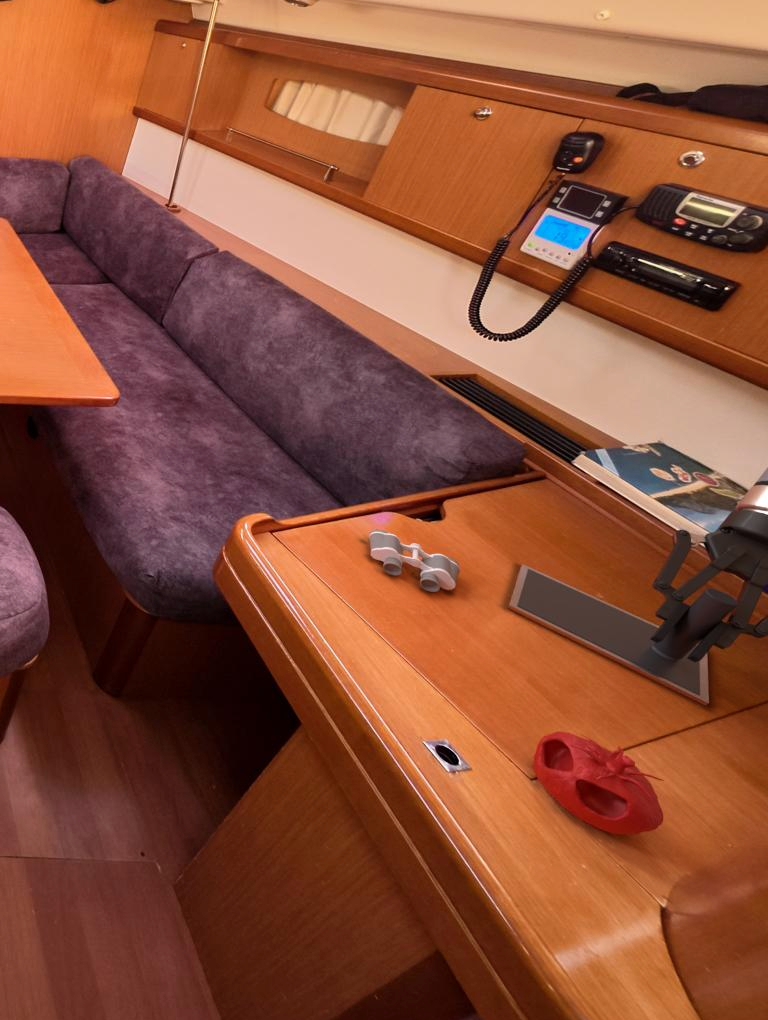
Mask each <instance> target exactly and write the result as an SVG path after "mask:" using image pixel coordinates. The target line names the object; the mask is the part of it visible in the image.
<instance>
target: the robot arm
mask: <svg viewBox="0 0 768 1020" xmlns="http://www.w3.org/2000/svg"><path fill="white" fill-rule="evenodd" d="M701 544H703V546H704V548H705V551H706V553H707V555H708V558H709V560H710V563H708V564H707V565H705V566H704V567H703V568H702V569H701V570H700V571H698V572H697V573H696V574H695V575H693V576H692V577H691V578H690V579H688V580H687V581H686V582H684V583H682V584H681V585H680V586H679V587H678V588H677V589H676V588H675V587H674V586H672V583H673V582H674V579H675V578H676V576H677V574H678V573H679V571H680V569H681V567H682V565H683V564H684V562H685V560H686V558H687V556H689V553H690V552H691V550H692V549H697V547H698V546H699V545H701ZM664 561H665V562H664V563H663V565H662V567H661V568H660V570H659V572H658V574H657V575H656V577H655V579H654V580H653V583H652V585H651V587H652V588H653V590H654V591H657V592H659V593H660V594H662V595H663V596H664V598H665V600H664V601H663V602H662V604H661V605H660V606H659V607H658V608H657V610H656V611H655V612H654V615H655V617H656V618H658V619H660V620H663V622H662V623H661V624H660V625H659V626H660V627H659V628H658V629H657V631H656V632H655V633H654V634H653V636H652V637H651V638H650V639H651V640H653V641H654V642H656V643H658V642H660V641H662V640H663V639H664V638H665V637H666V636H667V634H668V633H669V632H670V631H671V630H672V628H673V627H674V626H675V625H676V623H677V622H678V621H679V620H680V619H681V617H682V616H683V615H684V614H685V612H686V611H687V610H688V609H689V608H690V606H691V605H690V604H687V603H685V600H687V599H689V597H690V596H692V595H693V594H695V592H697V591H698V590H700V589H701V588H702V587H703V586H704V585H705V586H706V584H708V582H710V581H712V579H714V578H715V577H716V576H718V575H719V574H720V573H722V572H724V573H727V574H731V575H734V576H736V577H738V578H739V579H740V580H742V581H743V582H742V585H741V590H740V592H739V594H738V595H737V598H736V599H735V600H736V601H737V602H738V605H737V606H736V607H735V608H734V609H733V610H732V611H731V612H730V613H729V616H728V618H727V621H726V622H725V621H724V620H722V621H721V622H720V623H718V624H717V625H716V626H715V627H714V628H713V629H712V630H711V631H710V632H709V633H708V634H707V635H706V636H705V637H704V638H703V639H702V640H701V641H700V642H699V643H698V645H697V646H696V648H695V649H694V650H693V651H692V652H691V654H690V655H689V656H688V657H687V659H689V660H691V661H693V662H698V661H700V660H702V658H703V657H704V656H705V655H706V654H707V655H708V653H709V651H710V650H711V649H712V647H716V648H718V649H721V650H724V649H727V648H730V647H731V646H732V645H733V644H734V642H735V641H736V640H737V639H738V637H739V636H740V635H743V634H744V635H748V636H751V637H753V638H756V639H763V638H766V637H768V614H766V615H765V616H764V617H763V618H762V619H761V620H759V621H758V622H756V624H752V623H749V622H750V620H751V618H752V616H753V613H754V612H755V609H756V607H757V605H758V602H759V600H760V598H761V595H762V593H763V591H764V590H765V588H766V586H767V585H768V467H766V468H765V469H764V471H763V473H762V474H761V475H760V476H759V478H758V479H757V481H755V483H754V484H753V485H752V486H750V488H749V490H747V492H746V493H745V494H744V495H743V497H742V498H741V499H740V501H739V502H738V503H737V504H736V505H735V510H732V511H730V513H728V515H727V516H726V517H725V519H724V520H723V521H722V522H721V524H720V525H719V526H718V527H717V529H716V530H715V531H712V532H708V533H706V534H705V535H704V534H697V533H690V532H689V531H688V530H685V529H678V530H677V531H676V532H674V533H673V534H672V549H671V551H670V552H669V554H668V556H667V558H666V559H665V560H664Z"/></svg>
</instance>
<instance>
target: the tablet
mask: <svg viewBox="0 0 768 1020" xmlns="http://www.w3.org/2000/svg"><path fill="white" fill-rule="evenodd" d="M516 575H517V576H516V580H515V582H514V586H513V588H512V592H511V595H510V598H509V601H508V604H507V609H509V610H511V611H512V612H515V613H517V614H519V615H521V616H523V617H525V618H526V619H528V620H530V621H533V622H535V623H538V624H539V625H541V626H543V627H545V628H547V629H549V630H551V631H554V632H555V633H556V634H557V633H558V634H559V635H561V636H563V637H565V638H568V639H570V640H572V641H573V642H576V643H578V644H580V645H582V646H583V647H586V648H588V649H590V650H591V651H593V652H596V653H598V654H600V655H602V656H604V657H606V658H608V659H609V660H612V661H614V662H616V663H617V664H620V665H622V666H623V667H626V668H628V669H630V670H632V671H633V672H636V673H638V674H640V675H642V676H644V677H646V678H648V679H650V680H652V681H654V682H656V683H658V684H660V685H663V686H664V687H667V688H668V689H671V690H673V691H675V692H676V693H678V694H680V695H682V696H685V697H687V698H688V699H691V700H693V701H695V702H697V703H699V704H701V705H703V706H705V707H707V706H708V705H709V704H710V697H709V696H710V695H709V666H708V665H709V663H708V662H709V661H708V659H709V658H708V653H707V654H706V655H705V656H704V657H703V658H702V660H700V661H698V662H693V661H691V660H689V659H687V657H688V656H689V655H690V654H691V652H692V651H693V650H694V649H695V648H696V646H697V645H698V644H699V643H698V644H697V645H696V646H695V647H694V648H693V649H692V650H691V651H690V652H689V653H688V654H687V655H686V656H685V657H683V658H682V659H680V660H679V661H671V660H668V659H666V658H664V657H662V656H660V655H659V654H657V653H656V652H655V651H654V650H653V649H652V646H653V645H654V641H653V640H651V639H650V638H651V637H652V636H653V634H654V633H655V632H656V631H657V629H658V628H659V627H660V626H661V625H658V624H656V623H653V622H652V621H649V620H647V619H644V618H643V617H640V616H637V615H635V614H633V613H631V612H629V611H627V610H624V609H623V608H620V607H619V606H615V605H613V604H612V603H609V602H607V601H605V600H603V599H600V598H598V597H596V596H595V595H594V596H593V595H591V594H589V593H587V592H585V591H583V590H581V589H578V588H576V587H574V586H572V585H570V584H567V583H565V582H563V581H561V580H558V579H556V578H554V577H552V576H550V575H548V574H545V573H543V572H541V571H539V570H536V569H534V568H532V567H530V566H528V565H526V564H523V563H522V564H520V566H519V569H518V573H517V574H516Z"/></svg>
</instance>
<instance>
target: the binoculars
mask: <svg viewBox="0 0 768 1020" xmlns="http://www.w3.org/2000/svg"><path fill="white" fill-rule="evenodd" d="M368 539H369V546H370V556H371V557H372V559H374V560H376V561H381V562H383V565H382V570H384V572H385V573H387V574H388V575H391V576H400V575H401V574H402V573H403V567H402V566H403V563H406V564H409V565H411V566H412V567H415V568H418V569H420V574H419V576H420V580H419V585H420V587H421V588H422V589H423V590H425V591H426V592H429V593H431V592H432V593H436V592H439V591H440V590H441V589H443V590H446V591H452V590H453V589H455V588H456V586H457V585H456V584H457V581H458V578H459V575H460V572H461V568H460V567H461V566H460V564H459V562H458V561H457V560H455V559H453V558H452V557H448V556H446V555H445V554H443V553H432V554H428V553H427V552H425V551H424V550H423V547H422V546H421V544H419V543H414V542H413V543H410V545H409V544H404V543H402V542H401V540H400V537H398V535H396V534H393V533H389V532H387V531H386V530H383V529H374V530H371V531H370V532H369V536H368ZM404 551H405V552H408V553H410V554H412V556H405V555H404V554H403V553H404ZM419 558H421V559H419Z"/></svg>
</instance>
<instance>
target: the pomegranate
mask: <svg viewBox="0 0 768 1020" xmlns="http://www.w3.org/2000/svg"><path fill="white" fill-rule="evenodd" d="M581 736H582V737H581ZM535 749H536V750H535V753H534V756H533V763H532V769H533V772H534V774H535V777H536V779H537V780H538V782H539V784H540V785H541V786H543V788H544V789H545V790H546V791H547V793H548V794H550V796H551V797H552V798H554V799H555V800H556V801H557V802H558V803H559V804H560V805H561V806H562V807H563V808H564V809H565V810H567V811H568V812H570V814H572V815H573V816H574V817H576V818H577V819H579V820H580V821H582V822H584V823H586V824H588V825H591V826H592V827H594V828H596V829H598V830H601V831H603V832H607V833H609V834H613V835H639V834H642V833H648V832H652V831H654V830H655V831H656V830H657V829H658V828H659V826H661V825H662V824H663V822H664V812H663V809H662V807H661V805H660V802H659V798H658V796H657V793H656V792H655V789H654V787H653V785H652V783H651V782H650V781H649V779H648V778H647V777H649V778H652V779H655V780H658V781H662V782H663V781H665V779H662V778H658V777H656V776H654V775H652V774H649V773H644V772H641V770H639V768H638V767H637V766H636V761H635V760H633V759H632V758H630V757H629V756H628V755H624V750H623V749H622V748H621V746H620V745H618V747H617V750H615V751H612V750H611V749H610V750H609V749H608V748H606V747H604V746H602V745H600V744H599V743H597V742H596V741H595V740H593V739H592V738H590V737H588V736H586V735H584V734H582V733H580V736H578V735H577V734H574V733H571V732H566V731H556V732H551V733H549V734H546V735H544V736H542V737H541V739H540V740H539V742H538V744H537V745H536V748H535Z"/></svg>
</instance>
